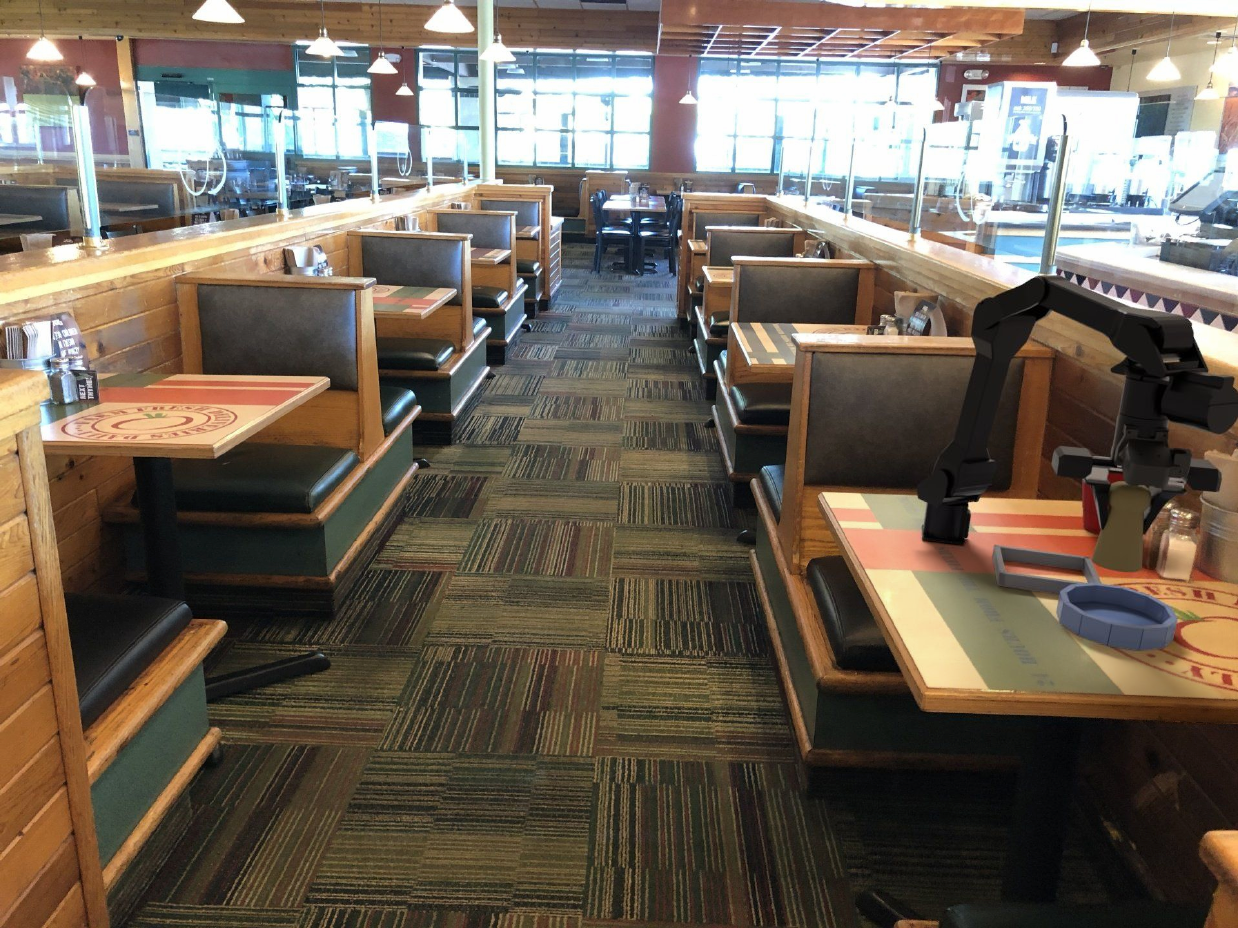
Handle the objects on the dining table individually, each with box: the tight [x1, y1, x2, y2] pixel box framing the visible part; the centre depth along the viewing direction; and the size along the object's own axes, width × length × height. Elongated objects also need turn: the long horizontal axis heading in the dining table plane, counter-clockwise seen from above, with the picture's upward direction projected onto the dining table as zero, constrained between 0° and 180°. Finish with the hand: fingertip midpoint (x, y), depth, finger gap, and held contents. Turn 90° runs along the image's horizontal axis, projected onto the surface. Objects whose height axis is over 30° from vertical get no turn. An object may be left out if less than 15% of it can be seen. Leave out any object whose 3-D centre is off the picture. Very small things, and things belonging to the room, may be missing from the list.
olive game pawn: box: [1090, 481, 1152, 573], centre depth 127 cm, size 6×6×11 cm
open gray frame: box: [991, 544, 1103, 595], centre depth 144 cm, size 14×12×2 cm
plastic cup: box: [1081, 455, 1124, 535], centre depth 163 cm, size 11×11×12 cm
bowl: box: [1055, 582, 1179, 652], centre depth 129 cm, size 14×14×3 cm
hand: (1122, 531), depth 128 cm, fingers closed on olive game pawn, 4 cm apart
